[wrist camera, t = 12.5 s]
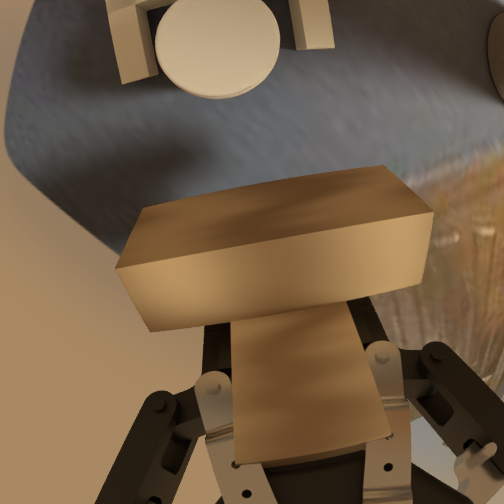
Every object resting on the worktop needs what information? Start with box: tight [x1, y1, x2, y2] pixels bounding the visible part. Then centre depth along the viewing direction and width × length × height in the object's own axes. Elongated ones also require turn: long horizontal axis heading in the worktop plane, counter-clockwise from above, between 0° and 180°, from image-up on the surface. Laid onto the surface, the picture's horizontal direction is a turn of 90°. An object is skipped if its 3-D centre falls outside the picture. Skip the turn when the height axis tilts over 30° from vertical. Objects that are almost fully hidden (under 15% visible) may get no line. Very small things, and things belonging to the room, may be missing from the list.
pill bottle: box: [155, 0, 280, 99], centre depth 11 cm, size 5×5×8 cm
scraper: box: [115, 165, 434, 468], centre depth 10 cm, size 10×7×9 cm
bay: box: [105, 0, 335, 84], centre depth 12 cm, size 11×6×2 cm, turn 99°
